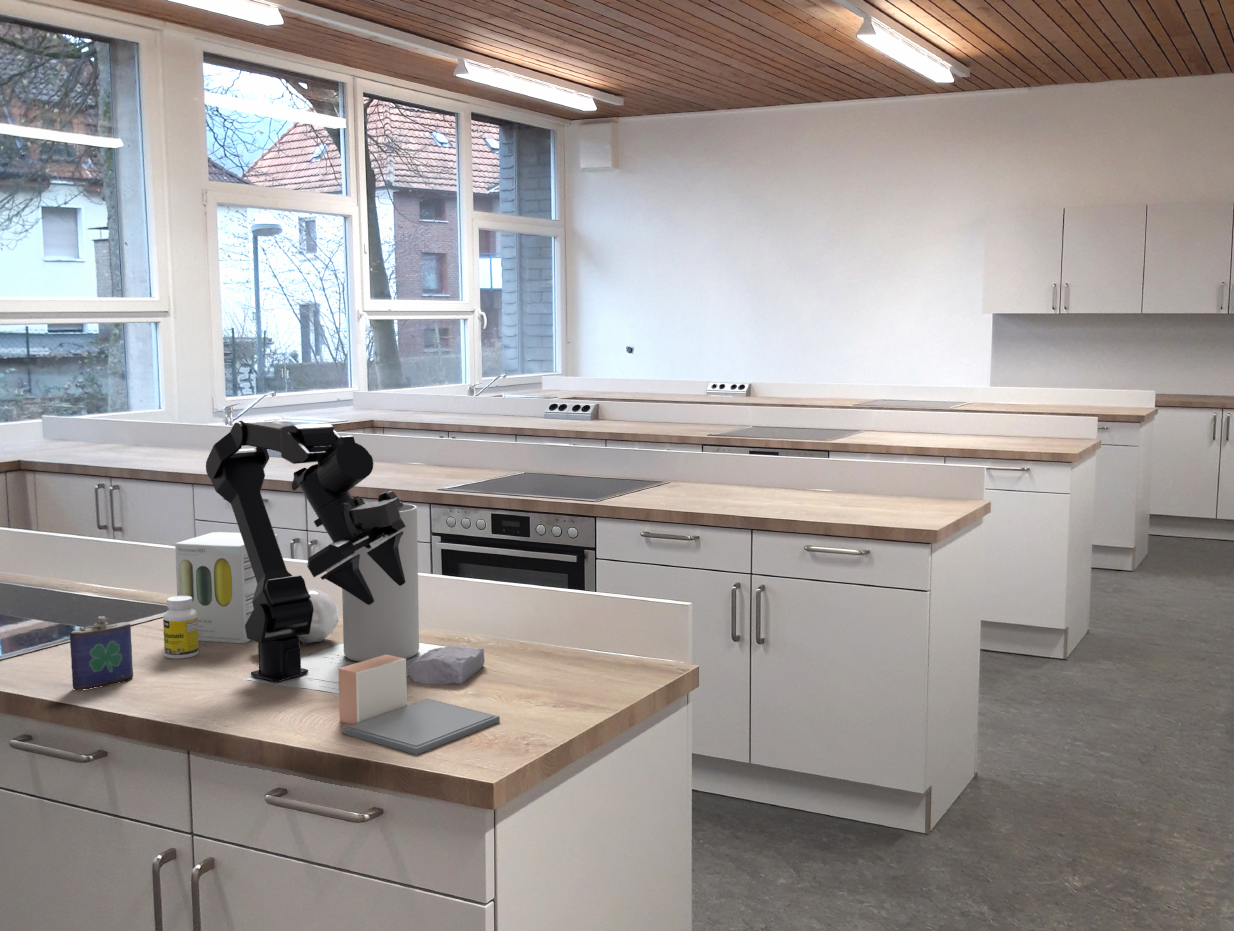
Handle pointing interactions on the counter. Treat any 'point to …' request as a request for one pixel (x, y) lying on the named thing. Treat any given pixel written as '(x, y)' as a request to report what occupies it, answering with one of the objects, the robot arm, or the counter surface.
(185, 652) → the supplement bottle
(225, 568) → the supplement box
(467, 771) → the counter surface
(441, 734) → the slate board
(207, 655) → the counter surface
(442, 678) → the stone block
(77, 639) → the flask
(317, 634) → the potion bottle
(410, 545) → the cylinder vase
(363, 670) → the salmon orange block
